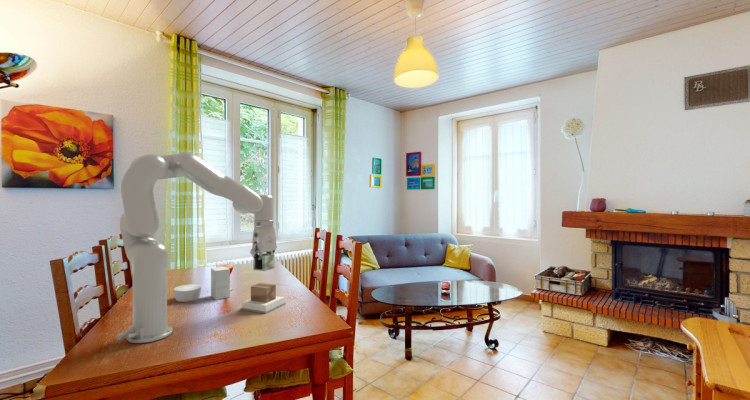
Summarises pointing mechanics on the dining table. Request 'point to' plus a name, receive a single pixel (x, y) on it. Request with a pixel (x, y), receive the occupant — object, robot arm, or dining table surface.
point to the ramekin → (187, 292)
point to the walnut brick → (263, 292)
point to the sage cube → (266, 262)
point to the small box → (220, 282)
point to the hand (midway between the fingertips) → (264, 266)
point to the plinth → (263, 305)
